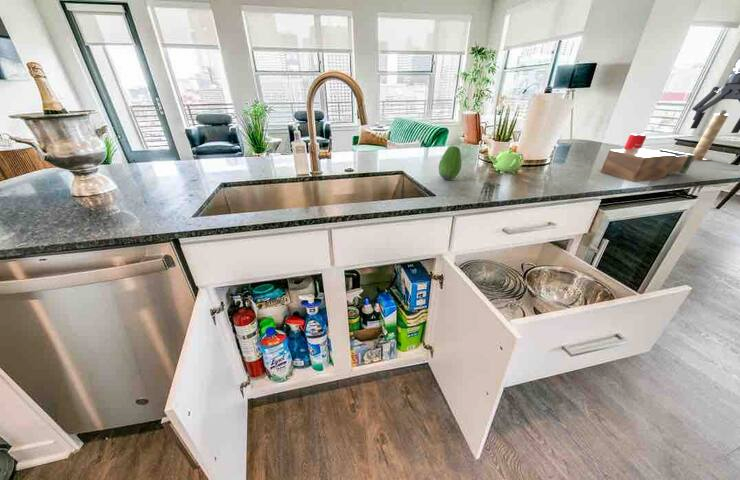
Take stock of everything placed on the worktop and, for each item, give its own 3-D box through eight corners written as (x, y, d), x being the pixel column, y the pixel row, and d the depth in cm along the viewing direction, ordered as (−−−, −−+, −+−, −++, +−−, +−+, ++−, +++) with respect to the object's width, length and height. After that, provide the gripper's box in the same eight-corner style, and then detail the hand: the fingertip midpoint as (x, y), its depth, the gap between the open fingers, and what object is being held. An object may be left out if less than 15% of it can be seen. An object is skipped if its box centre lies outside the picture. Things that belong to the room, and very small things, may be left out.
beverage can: (631, 163, 119) (645, 133, 113) (634, 165, 115) (648, 135, 109) (616, 161, 121) (629, 132, 115) (618, 164, 117) (631, 134, 111)
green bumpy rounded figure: (525, 171, 109) (531, 149, 105) (513, 177, 102) (519, 154, 98) (497, 166, 116) (501, 145, 112) (485, 171, 109) (489, 150, 105)
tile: (694, 157, 127) (695, 156, 126) (712, 161, 120) (712, 159, 120) (680, 157, 126) (681, 156, 126) (697, 161, 120) (698, 160, 120)
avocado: (459, 183, 97) (464, 148, 91) (436, 181, 99) (440, 147, 93) (459, 176, 103) (464, 143, 97) (438, 175, 105) (441, 143, 99)
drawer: (661, 165, 112) (670, 148, 109) (695, 172, 102) (705, 154, 99) (626, 168, 109) (634, 150, 105) (657, 176, 99) (667, 157, 96)
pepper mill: (701, 157, 123) (729, 109, 114) (704, 159, 121) (733, 110, 111) (689, 156, 125) (715, 109, 116) (691, 158, 123) (718, 110, 113)
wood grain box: (629, 169, 110) (639, 148, 106) (664, 178, 100) (676, 155, 95) (600, 172, 107) (609, 150, 103) (632, 181, 97) (644, 157, 93)
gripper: (699, 73, 116) (672, 127, 127) (788, 71, 95) (747, 135, 106) (712, 73, 118) (684, 126, 128) (802, 71, 97) (760, 134, 107)
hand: (712, 130), depth 117 cm, fingers open, 13 cm apart
